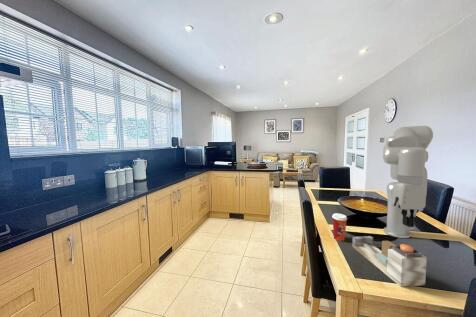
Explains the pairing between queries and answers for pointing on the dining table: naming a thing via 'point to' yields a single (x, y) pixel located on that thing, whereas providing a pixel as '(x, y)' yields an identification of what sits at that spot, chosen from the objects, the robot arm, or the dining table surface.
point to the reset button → (406, 248)
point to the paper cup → (339, 226)
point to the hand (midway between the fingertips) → (407, 225)
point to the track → (395, 262)
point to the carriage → (385, 252)
